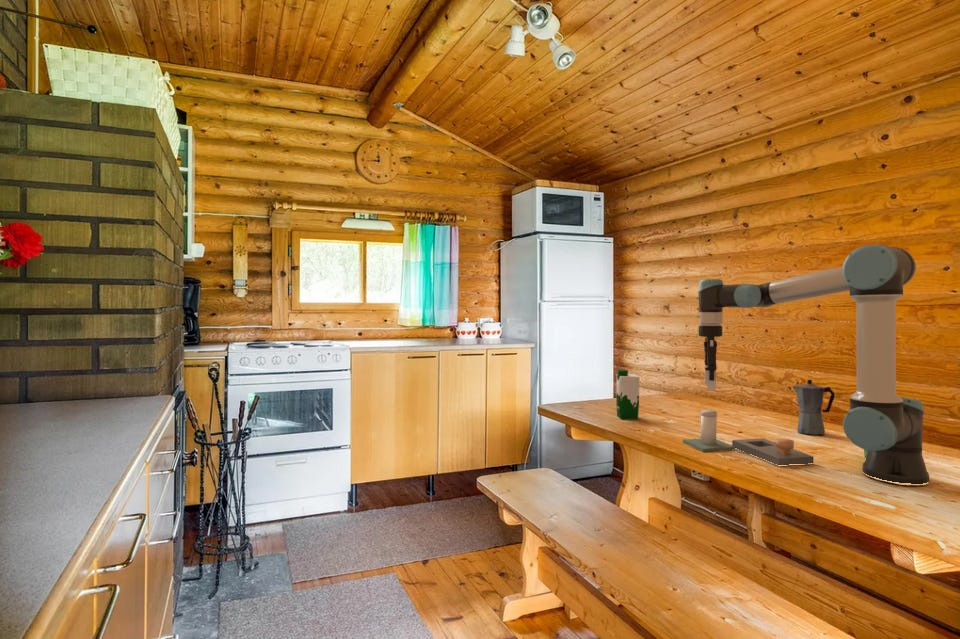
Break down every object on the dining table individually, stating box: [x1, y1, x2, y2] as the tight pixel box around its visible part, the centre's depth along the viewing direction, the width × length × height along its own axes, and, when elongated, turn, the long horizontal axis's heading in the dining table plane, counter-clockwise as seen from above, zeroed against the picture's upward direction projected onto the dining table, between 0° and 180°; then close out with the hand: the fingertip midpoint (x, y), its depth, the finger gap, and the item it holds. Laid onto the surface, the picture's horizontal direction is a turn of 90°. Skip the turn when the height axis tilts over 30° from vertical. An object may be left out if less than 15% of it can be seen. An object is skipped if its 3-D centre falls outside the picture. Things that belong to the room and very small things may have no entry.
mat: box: [682, 438, 736, 453], centre depth 190 cm, size 12×12×1 cm
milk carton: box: [615, 369, 640, 420], centre depth 234 cm, size 9×9×20 cm
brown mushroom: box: [775, 437, 795, 455], centre depth 173 cm, size 5×5×6 cm
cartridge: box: [700, 409, 718, 445], centre depth 190 cm, size 5×5×11 cm
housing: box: [731, 437, 815, 465], centre depth 178 cm, size 22×12×2 cm, turn 11°
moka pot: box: [792, 379, 836, 436], centre depth 207 cm, size 10×15×20 cm, turn 33°
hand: (710, 387), depth 189 cm, fingers open, 13 cm apart
